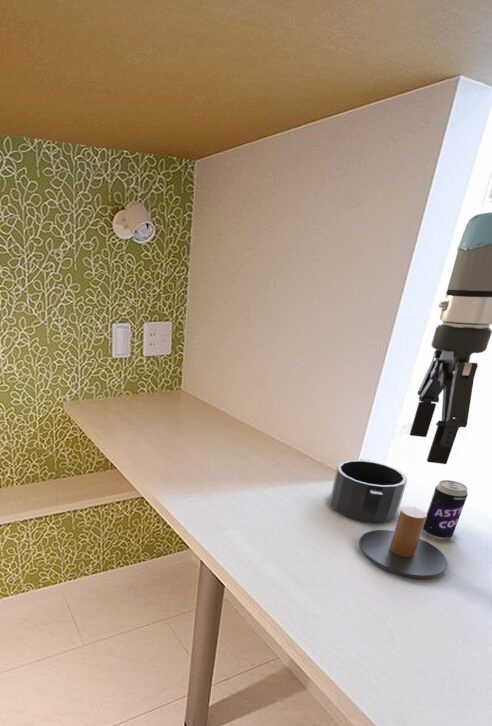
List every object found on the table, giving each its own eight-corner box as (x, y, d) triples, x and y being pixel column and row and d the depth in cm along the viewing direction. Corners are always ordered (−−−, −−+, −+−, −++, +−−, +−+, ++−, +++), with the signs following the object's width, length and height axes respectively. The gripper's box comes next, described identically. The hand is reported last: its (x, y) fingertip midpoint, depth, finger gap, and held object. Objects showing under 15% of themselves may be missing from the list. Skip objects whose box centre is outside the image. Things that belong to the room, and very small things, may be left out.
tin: (388, 494, 112) (397, 460, 108) (404, 534, 95) (416, 496, 91) (328, 485, 116) (334, 453, 112) (332, 523, 99) (341, 486, 95)
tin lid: (434, 542, 93) (448, 500, 88) (456, 588, 79) (475, 541, 75) (354, 529, 97) (364, 488, 93) (363, 570, 84) (375, 525, 79)
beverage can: (423, 537, 94) (440, 488, 89) (419, 524, 99) (434, 477, 94) (454, 543, 92) (473, 493, 87) (448, 530, 97) (465, 481, 92)
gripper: (420, 316, 81) (391, 424, 90) (462, 333, 60) (419, 472, 69) (466, 318, 79) (432, 428, 88) (527, 336, 58) (474, 479, 67)
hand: (426, 448), depth 79 cm, fingers open, 13 cm apart
